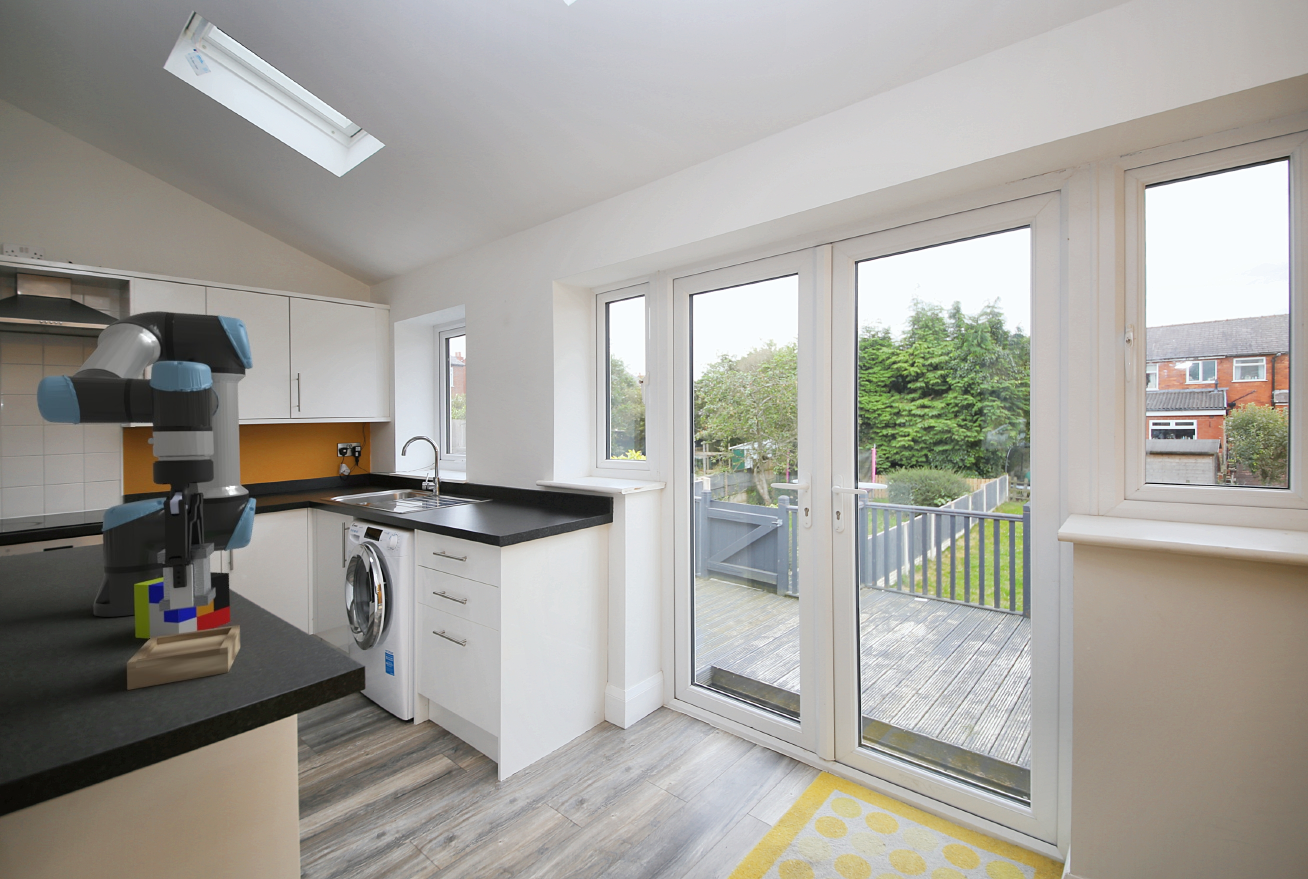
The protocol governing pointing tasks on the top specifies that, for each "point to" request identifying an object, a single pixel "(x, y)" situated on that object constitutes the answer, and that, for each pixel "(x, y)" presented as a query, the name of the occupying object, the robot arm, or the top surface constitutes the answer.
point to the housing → (200, 577)
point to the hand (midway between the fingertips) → (187, 601)
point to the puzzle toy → (179, 610)
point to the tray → (183, 656)
